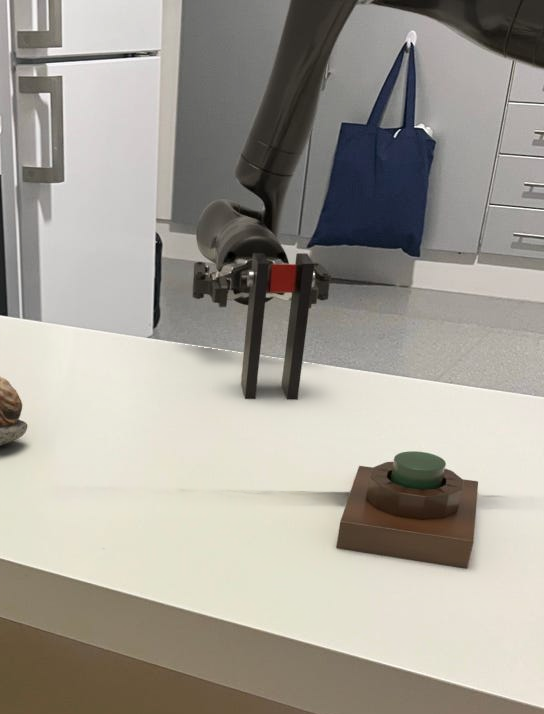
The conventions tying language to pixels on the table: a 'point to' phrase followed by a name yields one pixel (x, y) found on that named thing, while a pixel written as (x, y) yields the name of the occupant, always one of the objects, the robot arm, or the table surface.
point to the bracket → (295, 327)
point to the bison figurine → (10, 414)
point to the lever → (276, 278)
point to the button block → (410, 518)
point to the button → (418, 470)
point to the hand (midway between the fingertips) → (266, 297)
